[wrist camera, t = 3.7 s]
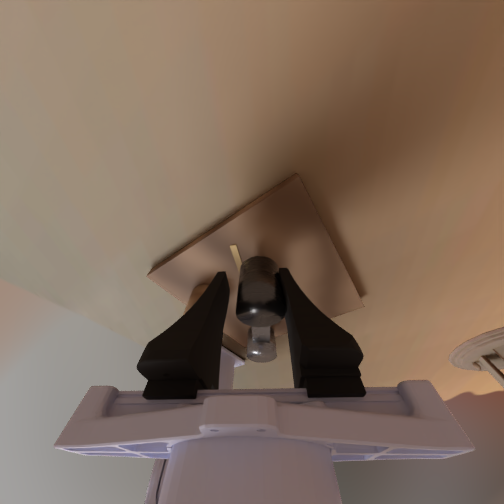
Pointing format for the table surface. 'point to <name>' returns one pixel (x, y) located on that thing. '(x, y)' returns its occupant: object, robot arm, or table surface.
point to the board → (269, 245)
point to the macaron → (195, 295)
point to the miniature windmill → (482, 354)
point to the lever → (260, 305)
